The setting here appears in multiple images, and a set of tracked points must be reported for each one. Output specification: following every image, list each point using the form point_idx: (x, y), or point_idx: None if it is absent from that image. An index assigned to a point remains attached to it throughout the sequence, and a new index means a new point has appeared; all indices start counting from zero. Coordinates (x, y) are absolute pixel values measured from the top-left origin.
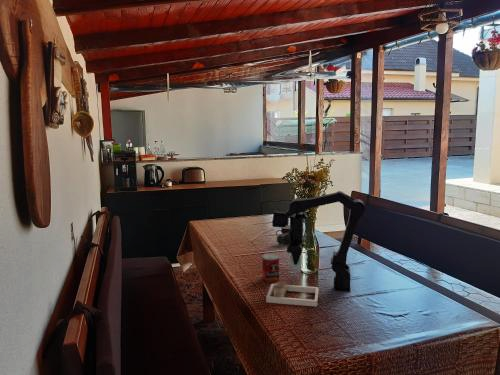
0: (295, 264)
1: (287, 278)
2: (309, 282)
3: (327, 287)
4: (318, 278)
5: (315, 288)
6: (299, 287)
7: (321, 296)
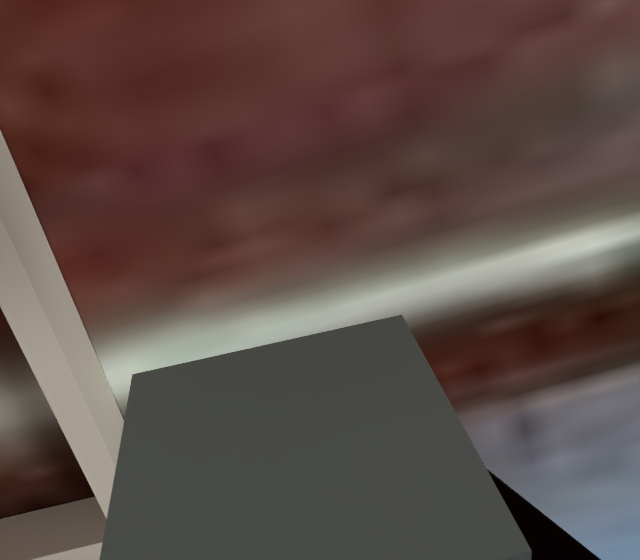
0: None
1: (473, 47)
2: None
3: None
4: (540, 396)
5: None
6: (44, 380)
7: None
